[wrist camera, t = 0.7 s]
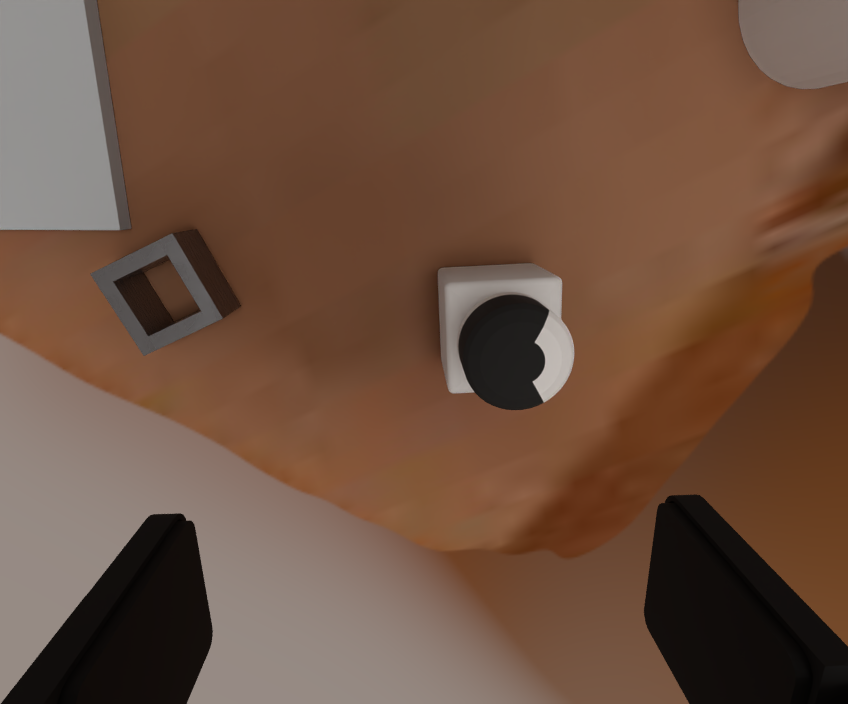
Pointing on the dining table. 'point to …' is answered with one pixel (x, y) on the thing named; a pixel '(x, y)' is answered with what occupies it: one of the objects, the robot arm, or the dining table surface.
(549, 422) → the dining table surface
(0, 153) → the keeper
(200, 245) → the link
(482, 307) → the medicine bottle
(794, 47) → the bottle
